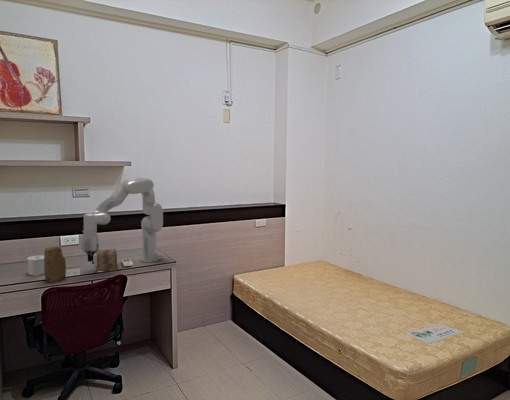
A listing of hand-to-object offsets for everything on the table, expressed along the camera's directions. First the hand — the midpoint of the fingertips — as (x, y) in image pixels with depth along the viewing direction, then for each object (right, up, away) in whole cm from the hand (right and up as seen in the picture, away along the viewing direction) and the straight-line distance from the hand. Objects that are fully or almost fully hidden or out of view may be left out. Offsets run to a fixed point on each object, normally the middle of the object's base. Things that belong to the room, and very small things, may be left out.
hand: (90, 260), depth 239 cm
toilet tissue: (-31, -7, -4) cm, 32 cm away
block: (-15, -9, -14) cm, 22 cm away
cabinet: (+7, -7, +10) cm, 13 cm away
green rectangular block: (-1, -6, +7) cm, 9 cm away
